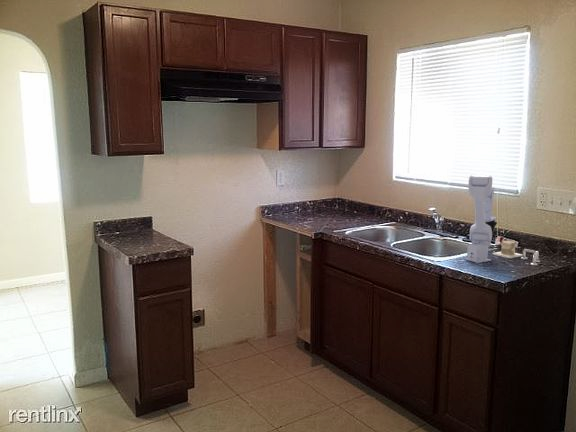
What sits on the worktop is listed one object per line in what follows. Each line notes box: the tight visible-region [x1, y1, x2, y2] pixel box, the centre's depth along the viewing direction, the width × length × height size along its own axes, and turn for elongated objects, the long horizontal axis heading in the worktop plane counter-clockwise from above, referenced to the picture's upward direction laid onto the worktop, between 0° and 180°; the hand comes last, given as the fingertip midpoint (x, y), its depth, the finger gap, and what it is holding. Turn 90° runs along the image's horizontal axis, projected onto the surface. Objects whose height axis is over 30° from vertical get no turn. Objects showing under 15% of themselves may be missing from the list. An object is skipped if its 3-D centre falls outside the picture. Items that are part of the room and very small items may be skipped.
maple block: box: [500, 240, 516, 255], centre depth 259 cm, size 4×4×6 cm
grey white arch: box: [520, 248, 541, 266], centre depth 246 cm, size 9×13×5 cm
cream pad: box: [492, 251, 523, 259], centre depth 260 cm, size 10×10×1 cm
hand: (484, 236), depth 262 cm, fingers open, 7 cm apart
